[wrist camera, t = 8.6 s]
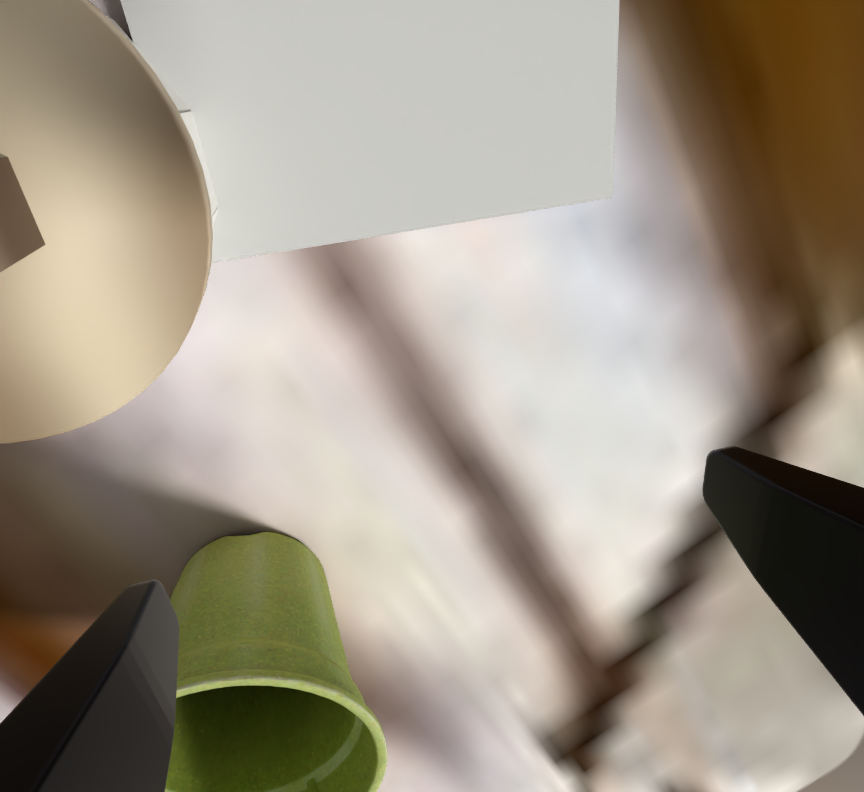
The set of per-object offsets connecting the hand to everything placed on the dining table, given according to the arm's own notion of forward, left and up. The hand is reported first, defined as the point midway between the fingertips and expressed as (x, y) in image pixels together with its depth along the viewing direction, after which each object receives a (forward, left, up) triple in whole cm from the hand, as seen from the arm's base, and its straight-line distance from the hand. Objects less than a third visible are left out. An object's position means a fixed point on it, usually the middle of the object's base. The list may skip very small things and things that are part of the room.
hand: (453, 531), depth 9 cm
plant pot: (+7, +12, -13) cm, 19 cm away
